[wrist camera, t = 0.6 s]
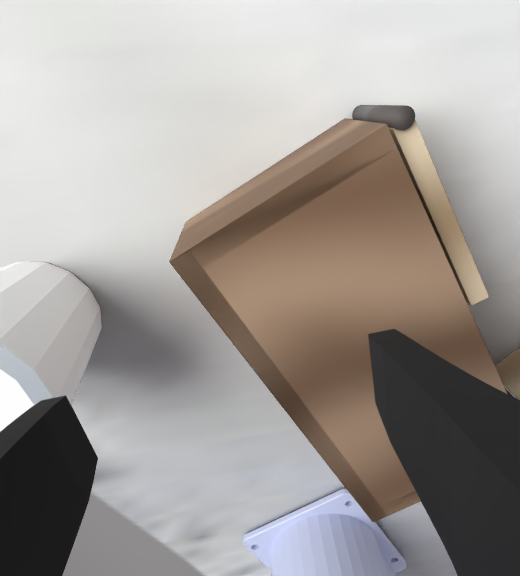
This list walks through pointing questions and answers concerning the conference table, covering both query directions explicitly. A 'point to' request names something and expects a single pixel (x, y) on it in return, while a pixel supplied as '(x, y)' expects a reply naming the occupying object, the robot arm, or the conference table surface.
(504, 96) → the conference table surface
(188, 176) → the conference table surface
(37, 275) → the shot glass
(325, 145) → the box
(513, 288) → the conference table surface
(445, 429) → the robot arm
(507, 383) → the left door
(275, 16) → the conference table surface
